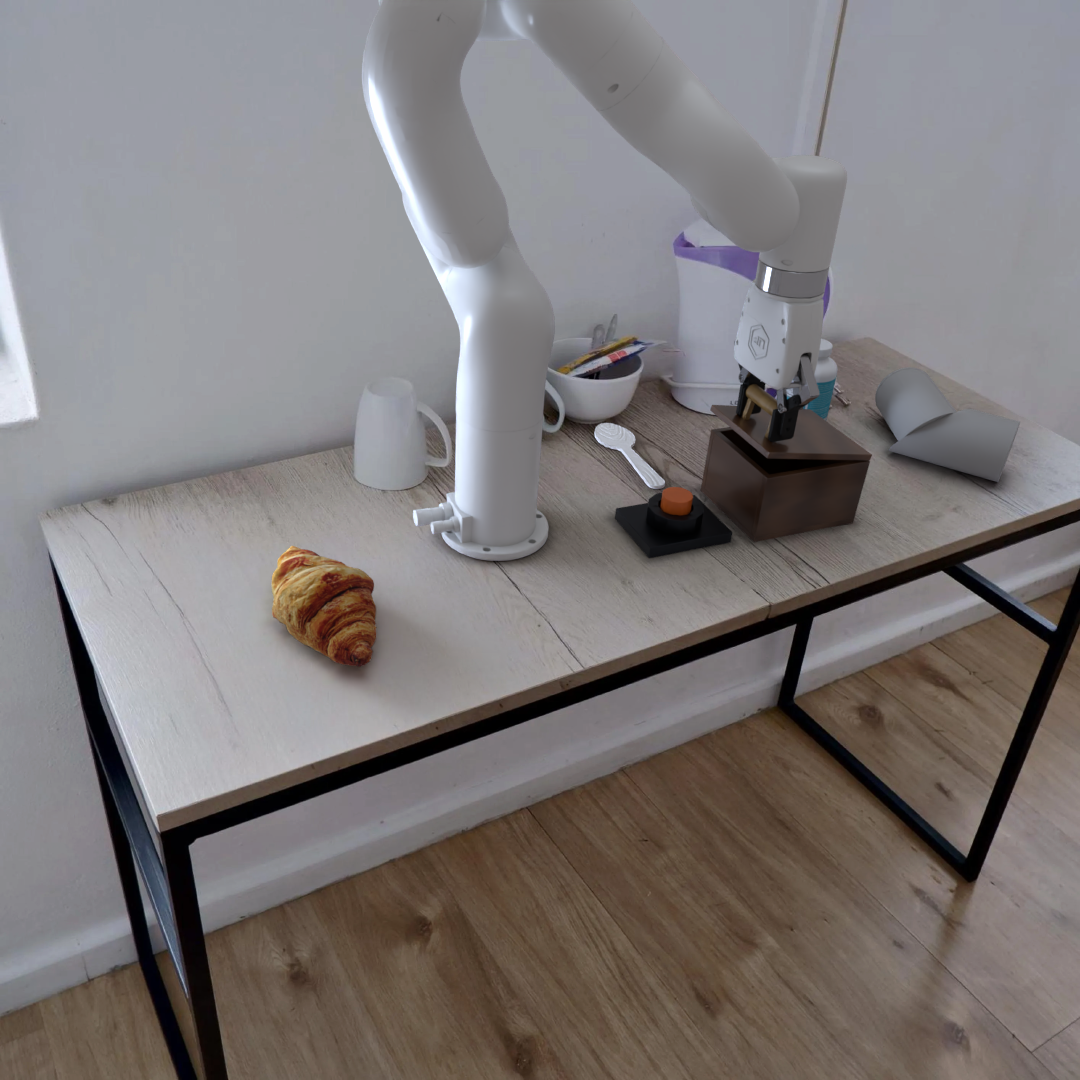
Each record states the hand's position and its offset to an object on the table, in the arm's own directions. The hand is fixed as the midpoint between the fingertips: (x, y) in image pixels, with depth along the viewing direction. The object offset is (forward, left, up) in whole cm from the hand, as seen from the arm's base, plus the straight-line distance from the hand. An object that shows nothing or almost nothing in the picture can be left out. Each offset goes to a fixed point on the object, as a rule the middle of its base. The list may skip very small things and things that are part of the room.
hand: (764, 425), depth 119 cm
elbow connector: (+35, +7, -12) cm, 38 cm away
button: (-11, -1, -9) cm, 14 cm away
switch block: (-11, -1, -12) cm, 16 cm away
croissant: (-54, -5, -12) cm, 55 cm away
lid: (+4, 0, -2) cm, 4 cm away
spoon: (-8, +17, -12) cm, 22 cm away
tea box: (+4, 0, -12) cm, 13 cm away
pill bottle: (+19, +17, -12) cm, 29 cm away
